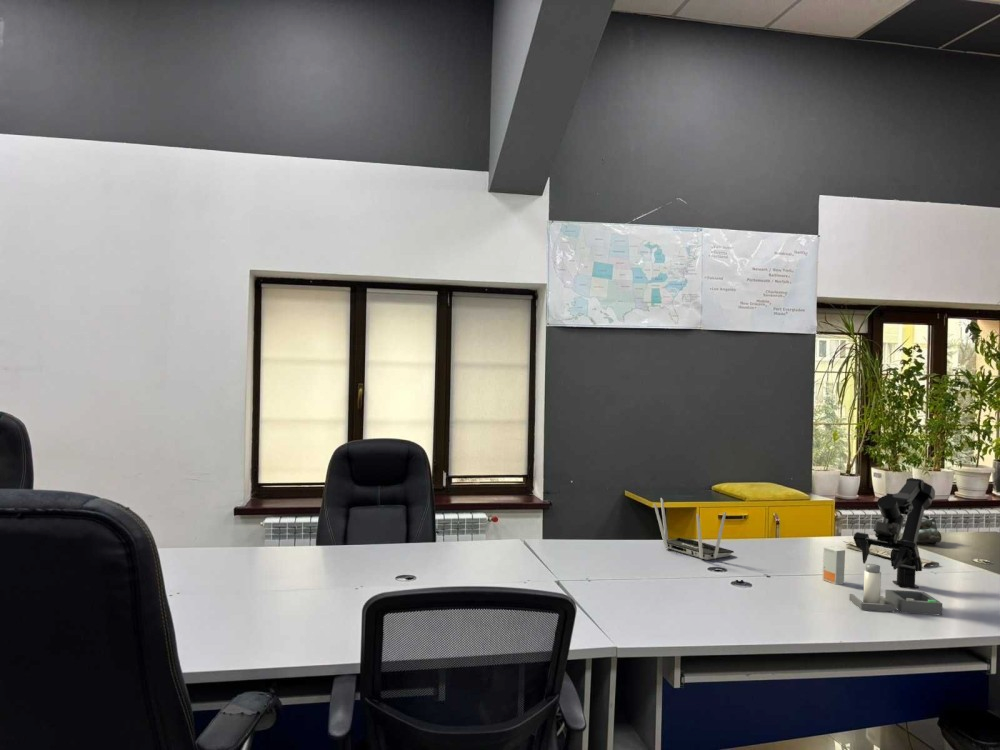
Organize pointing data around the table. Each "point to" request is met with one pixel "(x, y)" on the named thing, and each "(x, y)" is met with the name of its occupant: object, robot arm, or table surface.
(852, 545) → the newspaper
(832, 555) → the skincare box
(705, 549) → the wireless router
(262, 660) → the table surface
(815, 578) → the table surface
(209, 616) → the table surface
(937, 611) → the dock
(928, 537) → the grey rock
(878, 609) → the grey u-shaped rail
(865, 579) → the plug
